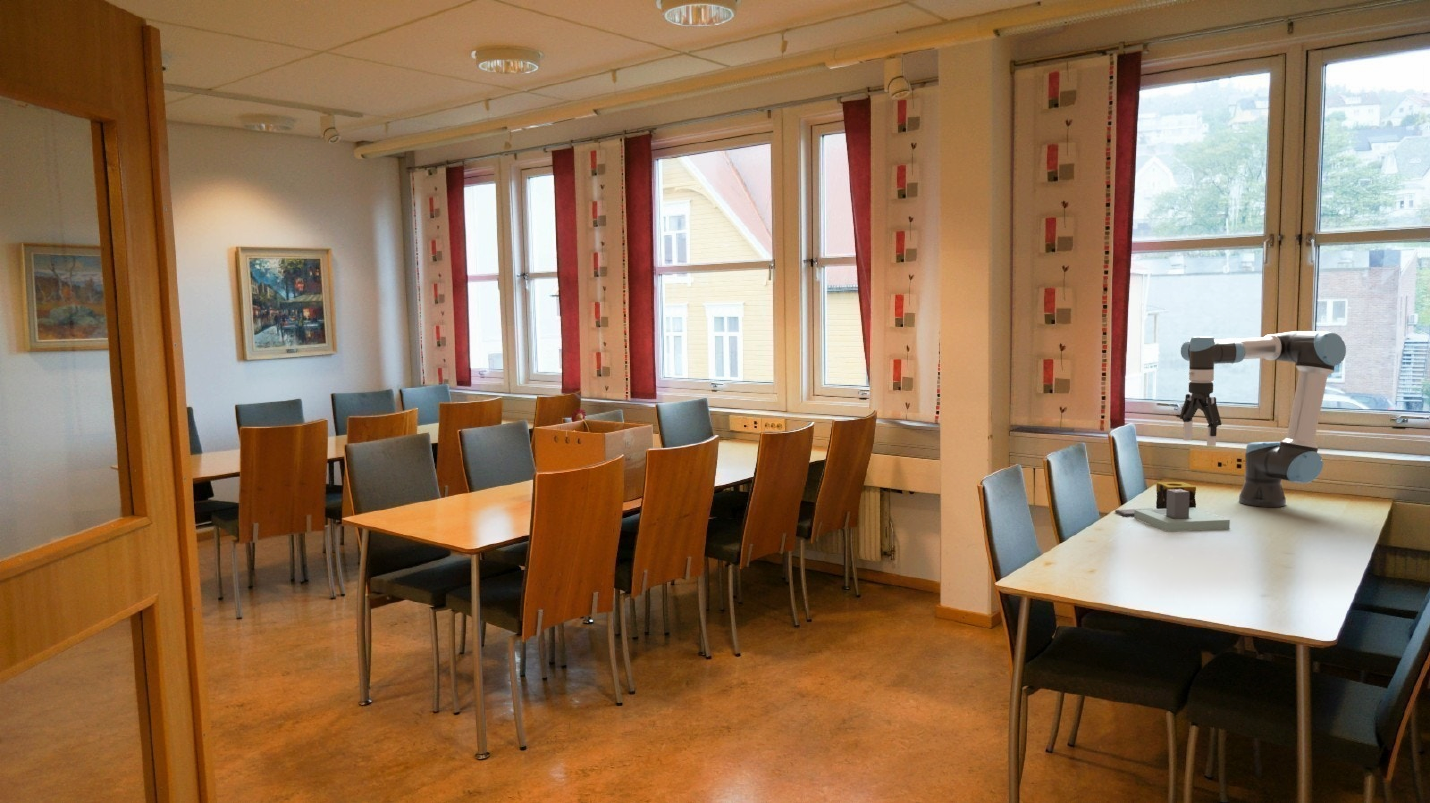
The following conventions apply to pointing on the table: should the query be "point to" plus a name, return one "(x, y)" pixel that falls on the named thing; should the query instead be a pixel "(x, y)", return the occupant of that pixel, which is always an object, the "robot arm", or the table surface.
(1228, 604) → the table surface
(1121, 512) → the phone
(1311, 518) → the table surface
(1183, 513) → the grey rectangular block
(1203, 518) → the outlet board
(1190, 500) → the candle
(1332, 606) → the table surface
